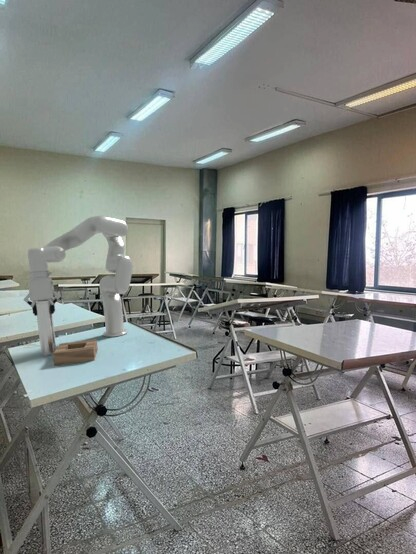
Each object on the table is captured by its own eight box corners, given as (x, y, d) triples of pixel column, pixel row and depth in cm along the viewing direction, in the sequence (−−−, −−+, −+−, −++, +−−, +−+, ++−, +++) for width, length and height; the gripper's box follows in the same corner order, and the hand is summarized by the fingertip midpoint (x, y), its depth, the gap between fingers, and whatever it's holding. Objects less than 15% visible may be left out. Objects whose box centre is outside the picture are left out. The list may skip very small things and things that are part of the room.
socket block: (61, 354, 170) (60, 343, 170) (97, 349, 173) (96, 339, 173) (54, 365, 155) (52, 353, 154) (94, 360, 158) (93, 348, 157)
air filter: (53, 350, 177) (47, 298, 175) (59, 352, 173) (52, 299, 170) (39, 354, 173) (32, 300, 170) (44, 356, 168) (38, 301, 166)
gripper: (61, 272, 174) (65, 310, 176) (21, 276, 171) (26, 314, 173) (58, 274, 167) (62, 313, 169) (16, 277, 164) (21, 318, 166)
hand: (44, 313), depth 171 cm, fingers closed on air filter, 6 cm apart
